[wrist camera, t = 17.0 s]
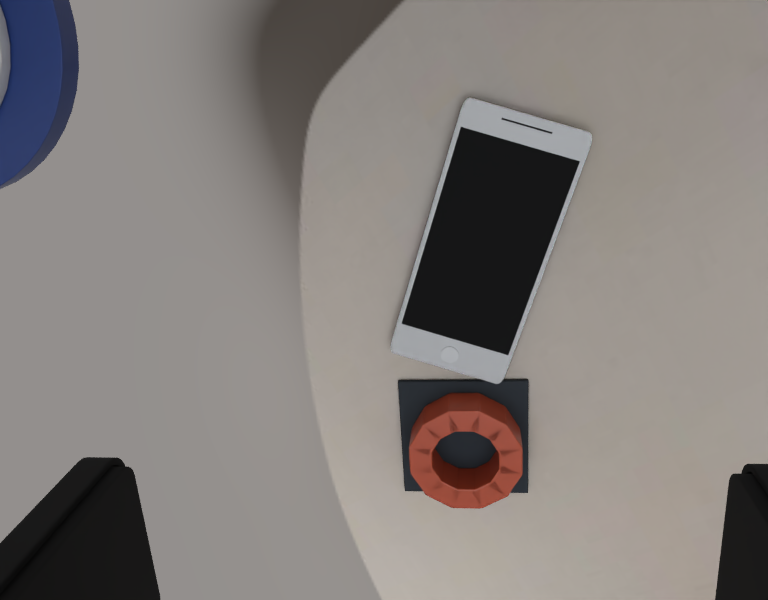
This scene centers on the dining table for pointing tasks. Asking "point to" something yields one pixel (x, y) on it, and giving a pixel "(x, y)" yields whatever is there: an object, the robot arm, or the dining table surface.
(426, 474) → the ring
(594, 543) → the dining table surface
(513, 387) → the coaster
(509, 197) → the smartphone
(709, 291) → the dining table surface
